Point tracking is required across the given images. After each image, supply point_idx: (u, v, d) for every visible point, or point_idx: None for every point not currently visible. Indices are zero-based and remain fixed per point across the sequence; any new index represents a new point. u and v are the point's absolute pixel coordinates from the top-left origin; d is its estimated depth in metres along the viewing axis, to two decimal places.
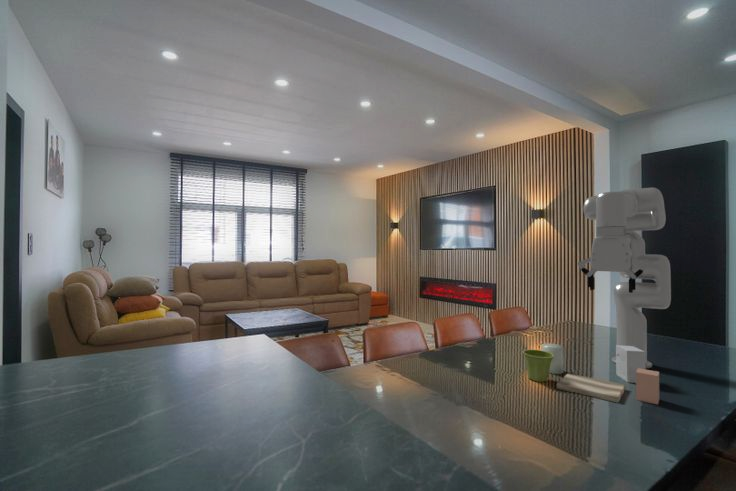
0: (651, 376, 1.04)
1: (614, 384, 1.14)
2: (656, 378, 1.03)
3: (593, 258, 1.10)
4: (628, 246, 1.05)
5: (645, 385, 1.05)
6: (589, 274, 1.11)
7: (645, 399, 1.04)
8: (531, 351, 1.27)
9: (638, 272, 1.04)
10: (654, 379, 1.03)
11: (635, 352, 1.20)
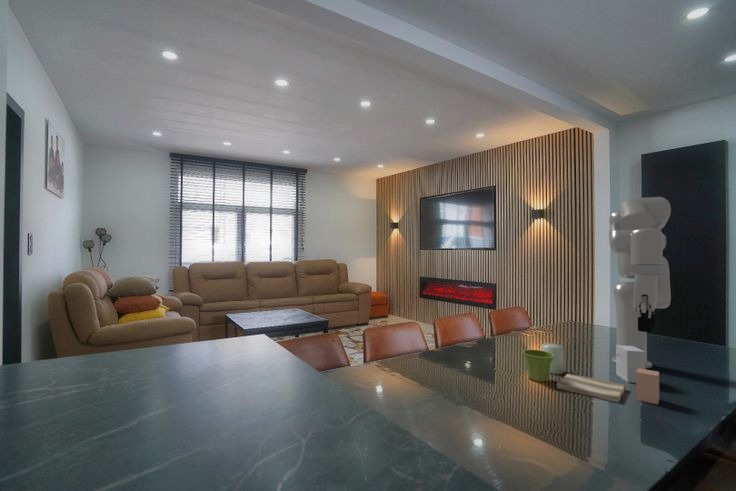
0: (651, 376, 1.04)
1: (614, 384, 1.14)
2: (656, 378, 1.03)
3: (654, 298, 1.02)
4: None
5: (645, 385, 1.05)
6: None
7: (645, 399, 1.04)
8: (531, 351, 1.27)
9: None
10: (654, 379, 1.03)
11: (635, 352, 1.20)
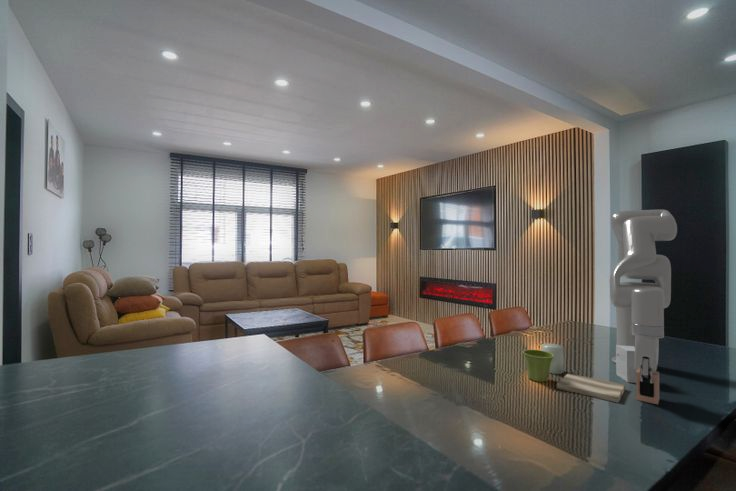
0: None
1: (614, 384, 1.14)
2: (656, 378, 1.03)
3: (655, 360, 1.02)
4: None
5: None
6: (652, 380, 1.03)
7: (645, 399, 1.04)
8: (531, 351, 1.27)
9: None
10: (654, 379, 1.03)
11: None
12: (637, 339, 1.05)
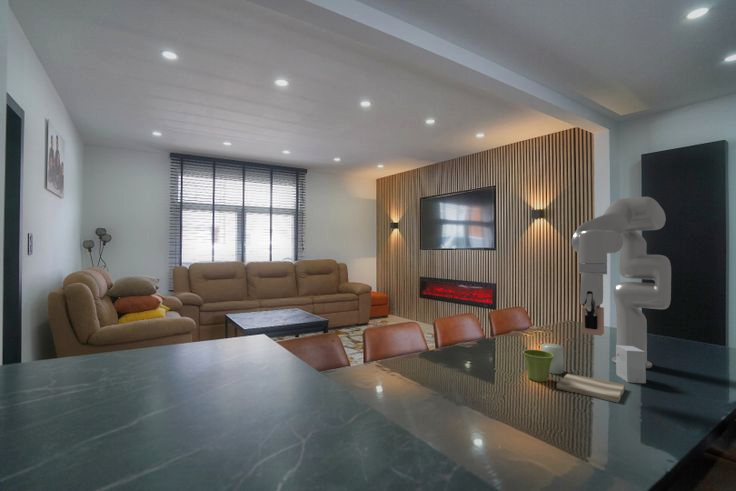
0: None
1: (614, 384, 1.14)
2: (599, 311, 1.11)
3: (598, 294, 1.10)
4: None
5: None
6: (595, 313, 1.11)
7: (590, 332, 1.12)
8: (531, 351, 1.27)
9: None
10: (598, 312, 1.11)
11: (635, 352, 1.20)
12: (582, 276, 1.12)
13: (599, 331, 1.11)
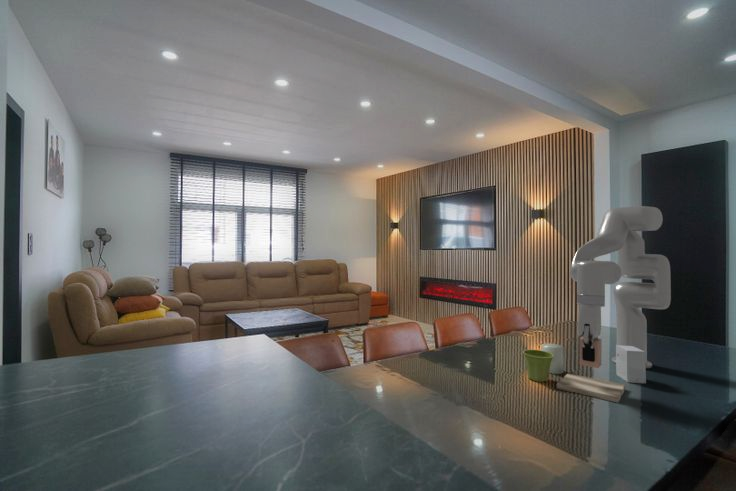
0: None
1: (614, 384, 1.14)
2: (597, 344, 1.11)
3: (595, 327, 1.10)
4: None
5: None
6: (593, 346, 1.11)
7: (587, 364, 1.12)
8: (531, 351, 1.27)
9: None
10: (595, 344, 1.11)
11: (635, 352, 1.20)
12: (580, 308, 1.13)
13: (596, 363, 1.11)
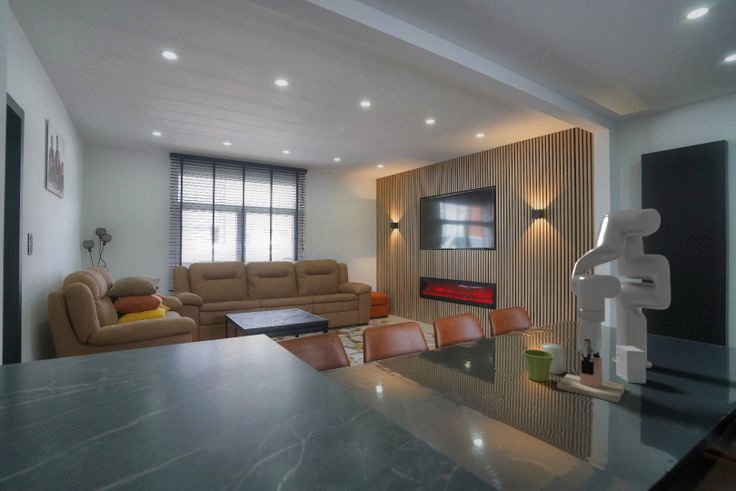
0: None
1: (614, 384, 1.14)
2: (597, 363, 1.11)
3: (596, 342, 1.10)
4: None
5: None
6: (591, 359, 1.09)
7: (588, 383, 1.12)
8: (531, 351, 1.27)
9: None
10: (596, 364, 1.11)
11: (635, 352, 1.20)
12: (580, 323, 1.12)
13: (597, 383, 1.11)
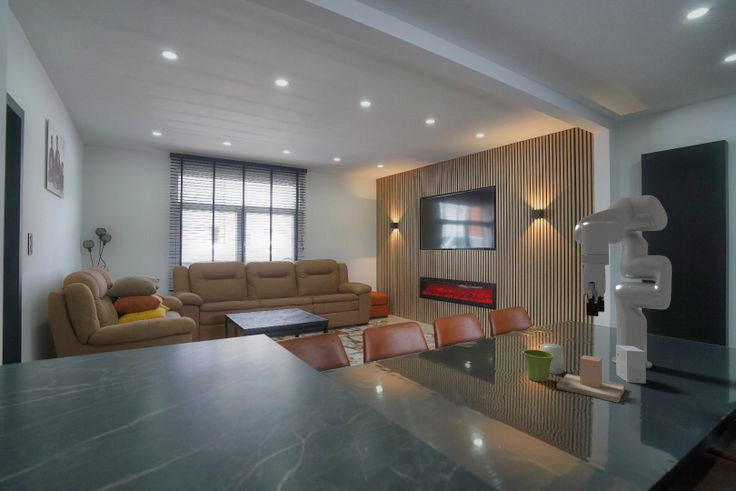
0: (593, 362, 1.12)
1: (614, 384, 1.14)
2: (597, 363, 1.11)
3: (600, 284, 1.12)
4: None
5: (588, 371, 1.13)
6: (596, 301, 1.11)
7: (588, 383, 1.12)
8: (531, 351, 1.27)
9: None
10: (596, 364, 1.11)
11: (635, 352, 1.20)
12: (585, 267, 1.14)
13: (597, 383, 1.11)
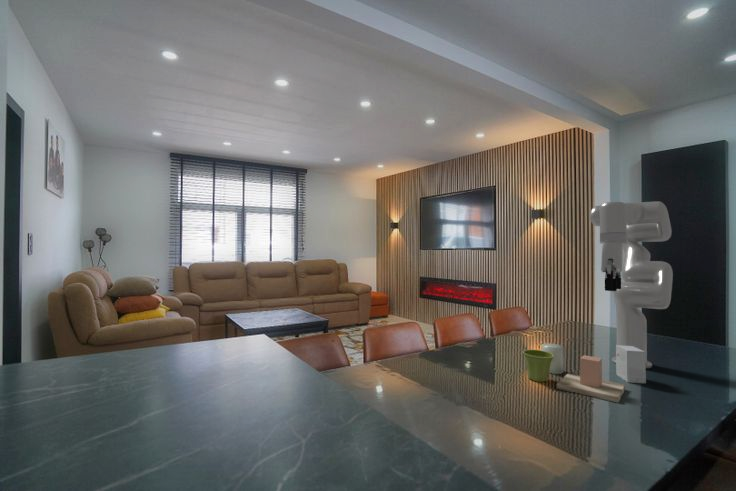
0: (593, 362, 1.12)
1: (614, 384, 1.14)
2: (597, 363, 1.11)
3: (618, 261, 1.18)
4: None
5: (588, 371, 1.13)
6: (615, 276, 1.18)
7: (588, 383, 1.12)
8: (531, 351, 1.27)
9: None
10: (596, 364, 1.11)
11: (635, 352, 1.20)
12: (603, 245, 1.21)
13: (597, 383, 1.11)
